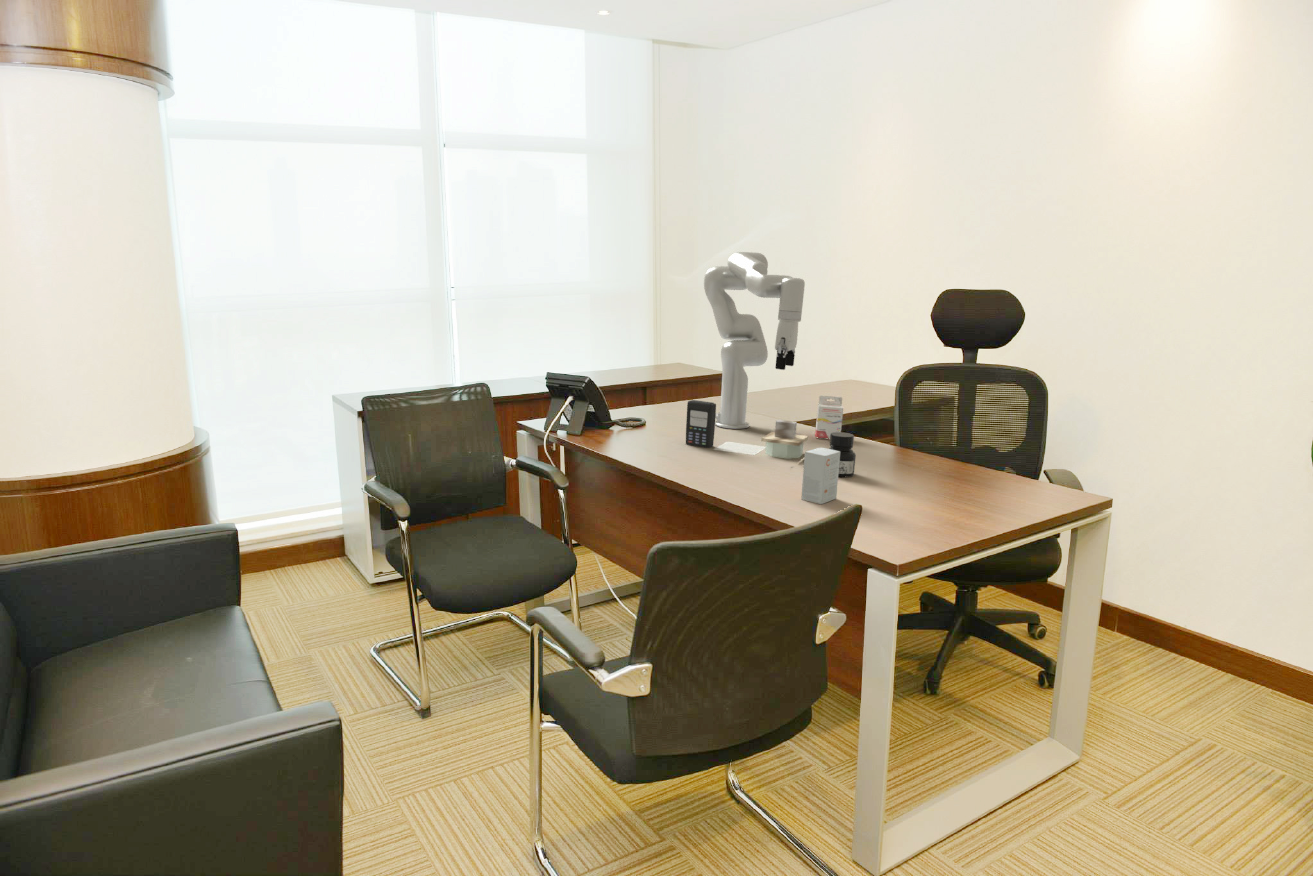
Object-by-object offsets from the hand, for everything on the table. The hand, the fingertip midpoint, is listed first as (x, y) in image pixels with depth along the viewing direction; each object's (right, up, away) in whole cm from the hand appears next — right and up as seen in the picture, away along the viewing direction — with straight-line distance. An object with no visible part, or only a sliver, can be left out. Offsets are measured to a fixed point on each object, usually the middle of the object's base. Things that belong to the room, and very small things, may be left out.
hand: (784, 367), depth 286 cm
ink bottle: (+11, -34, -33) cm, 49 cm away
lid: (-2, -24, -13) cm, 28 cm away
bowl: (-2, -29, -12) cm, 32 cm away
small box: (0, -40, -60) cm, 72 cm away
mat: (-15, -27, -7) cm, 32 cm away
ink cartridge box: (+18, -24, +18) cm, 35 cm away
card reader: (-29, -27, -5) cm, 40 cm away
